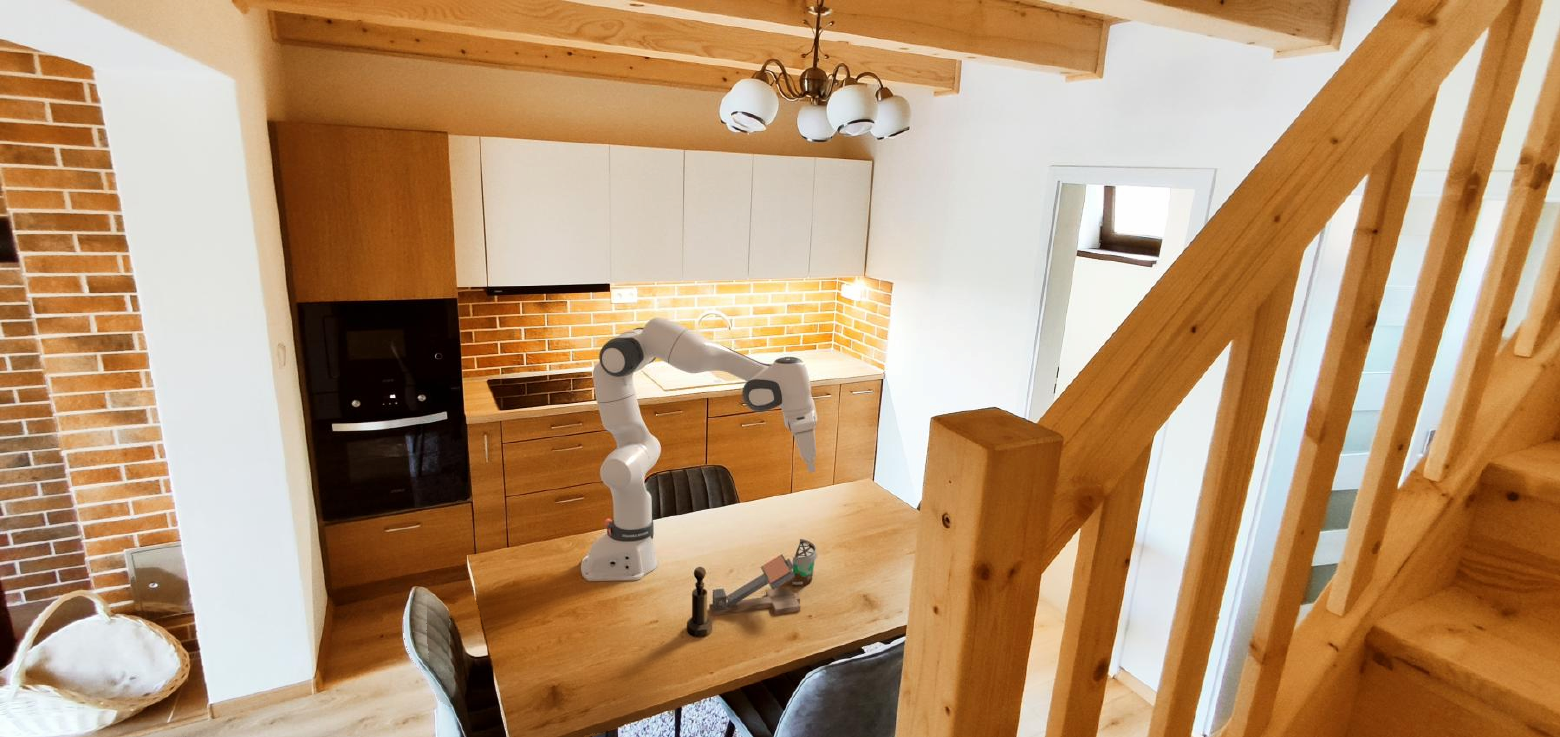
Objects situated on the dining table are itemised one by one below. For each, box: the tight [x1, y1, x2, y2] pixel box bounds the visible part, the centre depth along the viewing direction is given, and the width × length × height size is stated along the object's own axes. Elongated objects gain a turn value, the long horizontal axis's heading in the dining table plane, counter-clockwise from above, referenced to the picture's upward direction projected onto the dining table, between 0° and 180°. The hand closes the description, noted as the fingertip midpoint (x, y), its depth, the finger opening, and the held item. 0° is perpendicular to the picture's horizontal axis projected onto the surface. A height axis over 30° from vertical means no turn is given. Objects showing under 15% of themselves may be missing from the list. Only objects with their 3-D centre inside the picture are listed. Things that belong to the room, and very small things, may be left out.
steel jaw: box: [726, 553, 795, 606], centre depth 201 cm, size 20×10×2 cm, turn 105°
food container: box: [791, 538, 818, 588], centre depth 216 cm, size 12×6×10 cm, turn 168°
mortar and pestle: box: [686, 566, 713, 638], centre depth 189 cm, size 7×6×18 cm
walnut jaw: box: [708, 586, 801, 616], centre depth 202 cm, size 25×10×6 cm, turn 106°
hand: (810, 466), depth 197 cm, fingers open, 8 cm apart
